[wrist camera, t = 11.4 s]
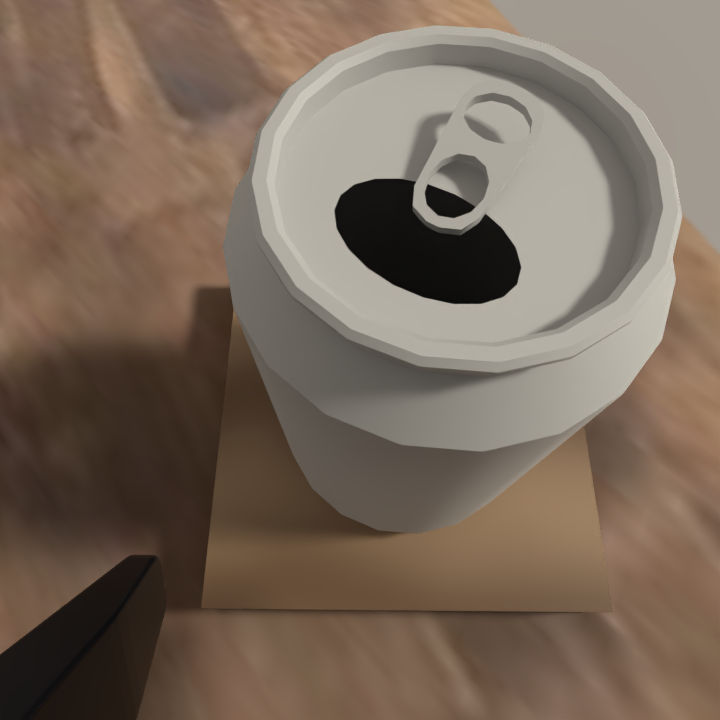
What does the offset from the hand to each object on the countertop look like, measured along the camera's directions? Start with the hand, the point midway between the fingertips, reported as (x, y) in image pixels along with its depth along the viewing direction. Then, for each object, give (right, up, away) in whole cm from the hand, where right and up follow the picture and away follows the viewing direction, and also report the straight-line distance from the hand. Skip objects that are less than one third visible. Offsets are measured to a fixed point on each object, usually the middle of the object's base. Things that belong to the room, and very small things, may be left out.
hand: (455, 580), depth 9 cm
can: (0, +1, +11) cm, 11 cm away
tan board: (0, +1, +12) cm, 12 cm away
